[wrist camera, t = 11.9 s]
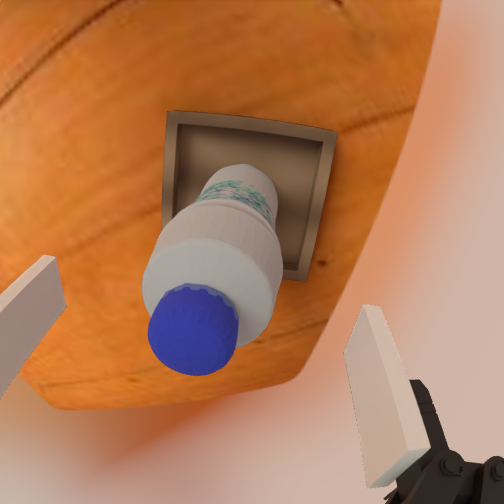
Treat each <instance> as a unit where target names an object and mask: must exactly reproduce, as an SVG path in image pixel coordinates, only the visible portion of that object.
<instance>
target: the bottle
mask: <svg viewBox="0 0 504 504" xmlns="http://www.w3.org/2000/svg"><path fill="white" fill-rule="evenodd" d="M277 209H278V198H277V193H276V190H275V187H274V184H273V182H272V181H271V179H270V178H269V177H268V176H267V175H266V174H264V173H263V172H262V171H260V170H258V169H257V168H255V167H253V166H251V165H248V164H238V165H231V166H228V167H224V168H222V169H220V170H218V171H217V172H216V173H215V174H214V175H213V176H212V177H211V178H210V179H209V180H208V182H207V183H206V185H205V186H204V188H203V190H202V192H201V194H200V195H199V197H198V198H197V199H196V200H195V202H194V203H193V204H192V205H189V206H188V207H186V208H185V209H183V210H182V211H180V212H179V213H178V214H177V215H176V216H175V217H174V218H173V219H172V220H171V221H170V222H169V223H168V224H167V225H166V226H165V227H164V229H163V230H162V232H161V234H160V235H159V237H158V240H157V243H156V246H155V248H154V251H153V253H152V255H151V257H150V260H149V262H148V265H147V267H146V269H145V272H144V275H143V280H142V294H143V300H144V303H145V306H146V309H147V311H148V313H149V314H150V316H151V319H150V322H149V327H148V340H149V343H150V345H151V348H152V350H153V352H154V353H155V355H156V356H157V358H158V359H159V360H160V361H161V362H162V363H163V364H165V365H166V366H167V367H169V368H171V369H172V370H175V371H177V372H179V373H183V374H186V375H193V376H201V375H208V374H211V373H213V372H216V371H217V370H219V369H221V368H223V367H224V366H225V365H226V364H227V363H228V361H229V360H230V358H231V357H232V355H233V353H234V350H235V349H236V348H239V347H242V346H245V345H246V344H248V343H250V342H252V341H253V340H254V339H255V338H257V337H258V336H259V335H260V334H261V333H262V332H263V331H264V329H265V328H266V327H267V325H268V323H269V321H270V319H271V317H272V314H273V310H274V306H275V302H276V297H277V293H278V290H279V287H280V284H281V281H282V275H283V261H282V256H281V248H280V244H279V241H278V238H277V236H276V234H275V220H276V215H277Z"/></svg>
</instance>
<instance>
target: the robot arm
mask: <svg viewBox="0 0 504 504" xmlns="http://www.w3.org/2000/svg"><path fill="white" fill-rule="evenodd" d="M66 307H67V306H66V302H65V297H64V293H63V289H62V284H61V279H60V274H59V269H58V264H57V258H56V257H53V256H48V255H43V256H42V257H41V258H39V259H38V260H37V261H36V262H35V263H34V264H33V265H32V266H30V267H29V268H28V269H27V270H26V271H25V272H24V273H23V274H22V275H21V276H20V277H18V278H17V279H16V280H15V281H14V282H13V283H12V284H11V285H10V286H9V287H8V288H7V289H6V290H5V291H4V292H3V293H2V294H1V295H0V399H1V397H2V396H3V394H4V393H5V391H6V390H7V388H8V386H9V385H10V383H11V382H12V380H13V379H14V378H15V376H16V375H17V373H18V372H19V370H20V369H21V367H22V366H23V364H24V363H25V362H26V360H27V359H28V357H29V356H30V355H31V353H32V352H33V350H34V349H35V348H36V346H37V345H38V344H39V342H40V341H41V340H42V338H43V337H44V336H45V334H46V333H47V332H48V330H49V329H50V328H51V326H52V325H53V324H54V323H55V321H56V320H57V319H58V317H59V316H60V315H61V314H62V312H63V311H64V310H65V309H66ZM344 358H345V363H346V368H347V373H348V378H349V383H350V388H351V393H352V399H353V404H354V409H355V415H356V421H357V426H358V433H359V439H360V445H361V451H362V457H363V463H364V471H365V478H366V486H367V488H376V487H385V486H388V485H389V484H391V483H392V482H393V481H394V480H396V482H397V488H396V489H394V490H393V491H392V492H390V493H389V494H388V495H387V496H386V497H385V498H384V500H387V499H388V498H389V499H388V501H387V502H386V503H385V504H504V458H502V457H500V456H493V457H491V458H489V459H488V460H487V461H486V462H485V463H484V464H480V463H472V462H465V461H464V460H463V458H462V457H461V456H460V455H459V454H458V453H457V452H455V451H452V450H450V449H449V447H448V445H447V442H446V439H445V436H444V433H443V430H442V427H441V424H440V421H439V418H438V415H437V414H436V410H435V407H434V404H432V402H433V401H432V399H431V396H430V393H429V391H428V389H427V388H426V387H425V386H424V384H423V383H422V382H421V381H420V380H409V379H408V376H407V373H406V370H405V368H404V365H403V362H402V360H401V357H400V354H399V352H398V349H397V347H396V344H395V342H394V339H393V337H392V334H391V332H390V329H389V327H388V324H387V322H386V319H385V317H384V314H383V312H382V310H381V307H380V306H376V305H367V304H363V305H362V308H361V311H360V314H359V316H358V318H357V321H356V323H355V326H354V328H353V331H352V334H351V336H350V338H349V341H348V343H347V346H346V348H345V350H344Z"/></svg>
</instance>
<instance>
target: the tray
mask: <svg viewBox="0 0 504 504" xmlns="http://www.w3.org/2000/svg"><path fill="white" fill-rule="evenodd" d="M336 138H337V132H335V131H333V130H328V129H323V128H318V127H312V126H307V125H301V124H295V123H289V122H283V121H276V120H269V119H262V118H254V117H246V116H238V115H228V114H218V113H206V112H193V111H177V110H176V111H167V122H166V135H165V149H164V165H163V186H162V219H161V232H162V230H163V229H164V227H165V226H166V225H167V224H168V223H169V222H170V221H171V220H172V219H173V218H174V217H175V216H176V215H177V214H178V213H179V212H180V211H182V210H183V209H185V208H186V207H188V206H189V205H192V204H193V203H194V202H195V200H196V199H197V198H198V197H199V195H200V194H201V192H202V190H203V188H204V186H205V185H206V183H207V182H208V180H209V179H210V178H211V177H212V176H213V175H214V174H215V173H216V172H217V171H218V170H220V169H222V168H224V167H228V166H231V165H238V164H248V165H251V166H253V167H255V168H257V169H258V170H260V171H262V172H263V173H264V174H266V175H267V176H268V177H269V178H270V179H271V181H272V182H273V184H274V187H275V190H276V193H277V198H278V209H277V215H276V220H275V234H276V236H277V238H278V241H279V244H280V248H281V256H282V261H283V275H282V279H289V280H296V281H303V282H306V279H307V275H308V271H309V267H310V263H311V258H312V254H313V250H314V246H315V241H316V237H317V232H318V228H319V223H320V219H321V214H322V209H323V205H324V200H325V195H326V190H327V185H328V180H329V175H330V170H331V165H332V160H333V154H334V149H335V144H336Z"/></svg>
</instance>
